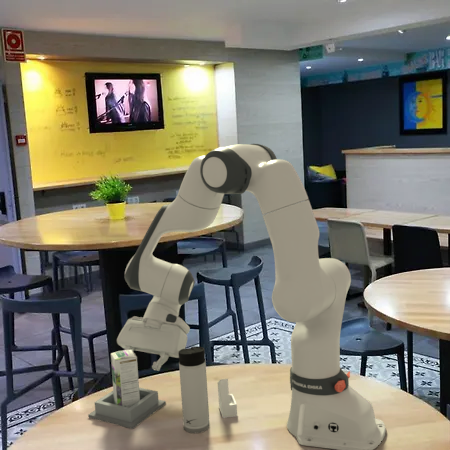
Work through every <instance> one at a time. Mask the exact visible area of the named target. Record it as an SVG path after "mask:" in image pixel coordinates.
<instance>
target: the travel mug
mask: <svg viewBox="0 0 450 450" xmlns="http://www.w3.org/2000/svg"><path fill="white" fill-rule="evenodd" d="M206 364H207V363H206V351H205V348H204V347H201V346H192V347H188V348H185V349H181V350H180V351H179V358H178V365H179V367H178V368H179V379H180V380H179V383H180V397H181V407H182V409H181V410H182V423H183V425H182V426H183V430H184V431H186V432H187V433H190V434H200V433H204V432H206V431H208V429H209V428H210V425H211V424H210V411H209V410H210V409H209V398H208V397H209V396H208V395H209V393H208V378H207V365H206Z"/></svg>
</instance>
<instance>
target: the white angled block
mask: <svg viewBox="0 0 450 450" xmlns="http://www.w3.org/2000/svg"><path fill="white" fill-rule="evenodd" d="M229 390H230V389H229V378H223V379H222V378H221V379H219V380H218V382H217V391H218V395H217V396H218V407H219V412H220V414H221V417H222V419H226V418H231V417H238V405H237V401H236V399H235V397H234V394H233V393H230V392H229Z"/></svg>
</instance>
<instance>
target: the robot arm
mask: <svg viewBox="0 0 450 450" xmlns="http://www.w3.org/2000/svg"><path fill="white" fill-rule="evenodd" d="M245 192H248V193H251V194H252V195H253V196H254V197H255V198H256V200H257V201H256V202H257V203H258V205H259V208H260V211H261V214H262V218H263V220H264V221H263V222H264V223H265V227H266V230H267V234H268V236H269V239H270V243H271V245H272V247H271V248H272V249H273V251H272V252H273V256H274V257H273V258H274V259H273V260H274V270H275V271H274V273H275V275H274V276H275V281H274V282H275V283H274V285H273V290H272V293H271V303H272V305H273V308H274V310H275V312H276V313H277V314H278V315H279V317H280V318H281V319H283V320H285V321H287V322H289V323H295V325H294V328H293V330H292V333H291V337H290V353H291V354H290V355H291V366H290V370H289V372H290V373H289V384H290V391H291V399H290V410H289V415H288V419H287V422H286V427H287V430H288V431H289V433H291V434H292V436H294V437H295V438H296V440H297V442H298V444H299V445H301V446H307V447H313V448H315V447H316V448H323V449H332V450H375V449H376V448H377V447H379V446H380V444H381V443H382V442H383V440H384V439H385V436H386V432H387V431H386V424H385V423H384V421H383V420H381V419H380V418H376V415H375V409H374V407H373V405H372V403H371V402H370V401H369V400H368V399H367V398H366V397H364V396H363V395H362V394H361V393H359V392H358V391H357V390H355V388H353V387H352V386H351V385H350V384H349V381H350V380H349V378H350V377H351V371H347V373H345V371H343V369H342V367H341V355H340V354H341V353H340V352H341V351H340V349H341V347H340V345H341V343H340V341H341V340H340V339H341V329H342V323H343V317H344V312H345V306H346V305H345V304H346V298H347V294H348V291H349V289H350V286H351V283H352V277H351V276H352V275H351V273H350V270H349V268H348V266H347V265H346V264H345V263H344V262H343V261H341V260H339V259H337V258H334V257H333V258H332V257H329V258H328V257H325V258H320V257H319V239H320V228H319V225H318V223H317V222H318V221H317V219H316V216H315V215H314V211H313V208H312V205H311V202H310V199H309V196H308V193H307V191H306V189H305V186H304V184H303V182H302V180H301V177H300V176H299V174H298V173H297V171H296V169H295V167H294V166H293V164H292V162H290V161H288V160H286V159H282V158H281V159H279V158H277V157H276V153H275V152H274V151H273V150H272V149H271V148H269V147H268V146H266V145H263V144H260V143H251V144H245V143H243V144H242V143H241V144H240V143H238V144H231V145H227V146H219V147H216V148H214V149H212V150H211V151H209V152H208V153H206V154H205V155H200V156H197V157H195V158H193V160H192V161H191V163H190V164H189V166H188V168H187V170H186V172H185V174H184V177H183V179H182V181H181V184H180V187H179V190H178V193H177V195H176V197H175V199H174V200H173V201H172V202H171V203H169V204H163V205H162V206H161V207H160V208H159V209H158V211H157V212H156V215H154V218H153V220H152V222H151V223H150V225H149V227H148V229H147V230H146V233H145V235H144V236H143V238H142V241H141V242H140V244H139V246H138V248H137V250H136V252H135V254H134V255H133V256H132V257H131V258H130V260H129V261H128V263H127V264H126V268H125V271H124V277H123V278H124V280H125V282H126V283H127V284H126V285H128V287H129V288H130V289H132V290H135V291H138V292H139V291H140V292H144V293H147V294H150V295H152V296H153V297H152V299H151V300H150V301H149V303H148V305H147V307H146V310H145V312H144V315H143V317H142V316H140V317H139V316H135V315H134V316H132V317H129V318H128V319H127V320H126V322H125V324H124V325H123V327H122V328H121V330H120V332H119V334H118V336H117V338H116V344H117V345H118V346H120V348H122V349H124V350H132V351H133V352H134V351H136V352H137V351H138V352H144V353H147V354H154V355H159V356H160V357H159V359H158V360H156V361H153V363H152V365H151V369H152V370H153V371H158V372H159V371H161V368H162V366H163V365H164V364H165V363H166V362H167V361H168V359H169V357H171V358H176V359H179V351H180V350H181V349H186V347H187V344H188V343H187V342H188V334H189V333H190V330H191V329H190V328H191V327H190V326H189V325H188V324H187V322H186V321H184V320H183V318H181V317H180V316H179V315H180V309H181V306H182V305H184V304H186V303H188V302H189V299H190V297H191V294H192V291H193V289H194V287H195V283H196V282H195V281H196V280H195V278H194V276H193V274H192V272H191V270H189V269H188V268H187V267H185V266H183V265H182V264H178V263H171V262H168V261H165V260H164V259H160V258H157V257H155V256H154V255H153V252H154V251H155V249H156V248H157V245H158V243H159V242H160V240H161V237H162V236H163V235H165V234H168V233H175V232H176V233H181V232H182V233H193V232H198V231H202V230H204V229H205V230H206V228H208V227H209V226H211V224H213V223H214V222H215V219H216V217H217V215H218V213H219V211H220V208H221V206H222V205H221V204H222V203H223V199H224V197H225V195H235V194H236V195H237V194H238V195H239V194H240V195H243V194H244V193H245ZM381 441H382V442H381ZM378 445H379V446H378Z"/></svg>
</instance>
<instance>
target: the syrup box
mask: <svg viewBox="0 0 450 450" xmlns="http://www.w3.org/2000/svg"><path fill="white" fill-rule="evenodd" d="M110 362H111V375H112V376H111V377H112V391H113V392H114V404H116V405H120V406H124V407H128V408H130V407H131V406H133V405H134V404H136V403H137V402H138V401H140V394H139V388H140V382H139V370H138V369H139V368H138V367H139V366H138V356H137V355H136V353H135V352H134V351H132V350H125V349H123V350H118V351H115V352H111V353H110Z"/></svg>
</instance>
